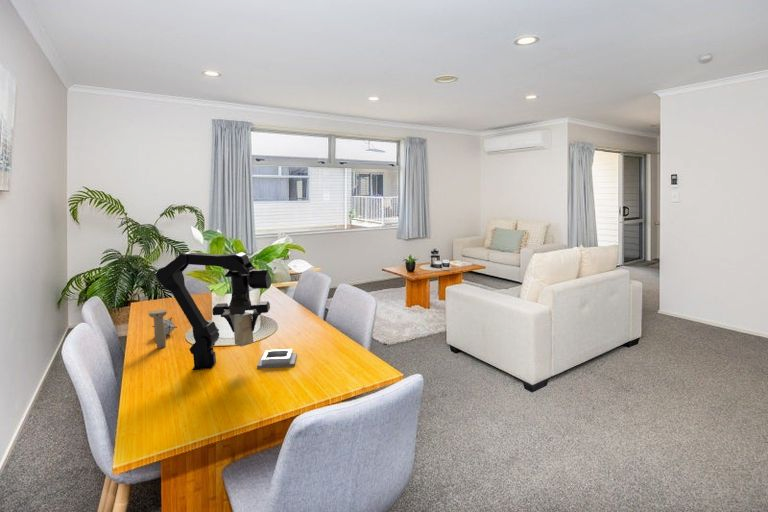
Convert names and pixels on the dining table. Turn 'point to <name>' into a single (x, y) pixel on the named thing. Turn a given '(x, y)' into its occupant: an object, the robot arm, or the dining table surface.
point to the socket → (277, 358)
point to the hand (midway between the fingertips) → (243, 331)
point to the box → (243, 329)
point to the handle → (159, 327)
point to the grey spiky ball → (168, 326)
